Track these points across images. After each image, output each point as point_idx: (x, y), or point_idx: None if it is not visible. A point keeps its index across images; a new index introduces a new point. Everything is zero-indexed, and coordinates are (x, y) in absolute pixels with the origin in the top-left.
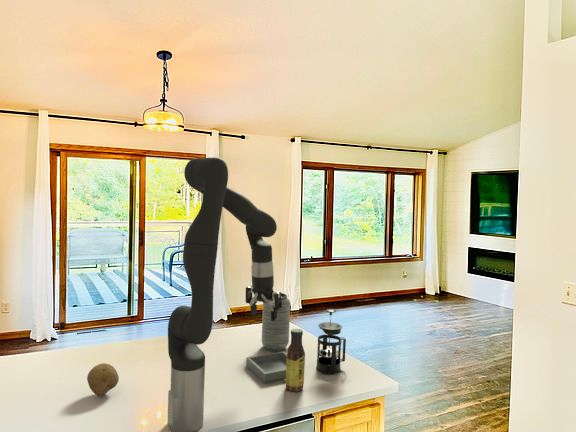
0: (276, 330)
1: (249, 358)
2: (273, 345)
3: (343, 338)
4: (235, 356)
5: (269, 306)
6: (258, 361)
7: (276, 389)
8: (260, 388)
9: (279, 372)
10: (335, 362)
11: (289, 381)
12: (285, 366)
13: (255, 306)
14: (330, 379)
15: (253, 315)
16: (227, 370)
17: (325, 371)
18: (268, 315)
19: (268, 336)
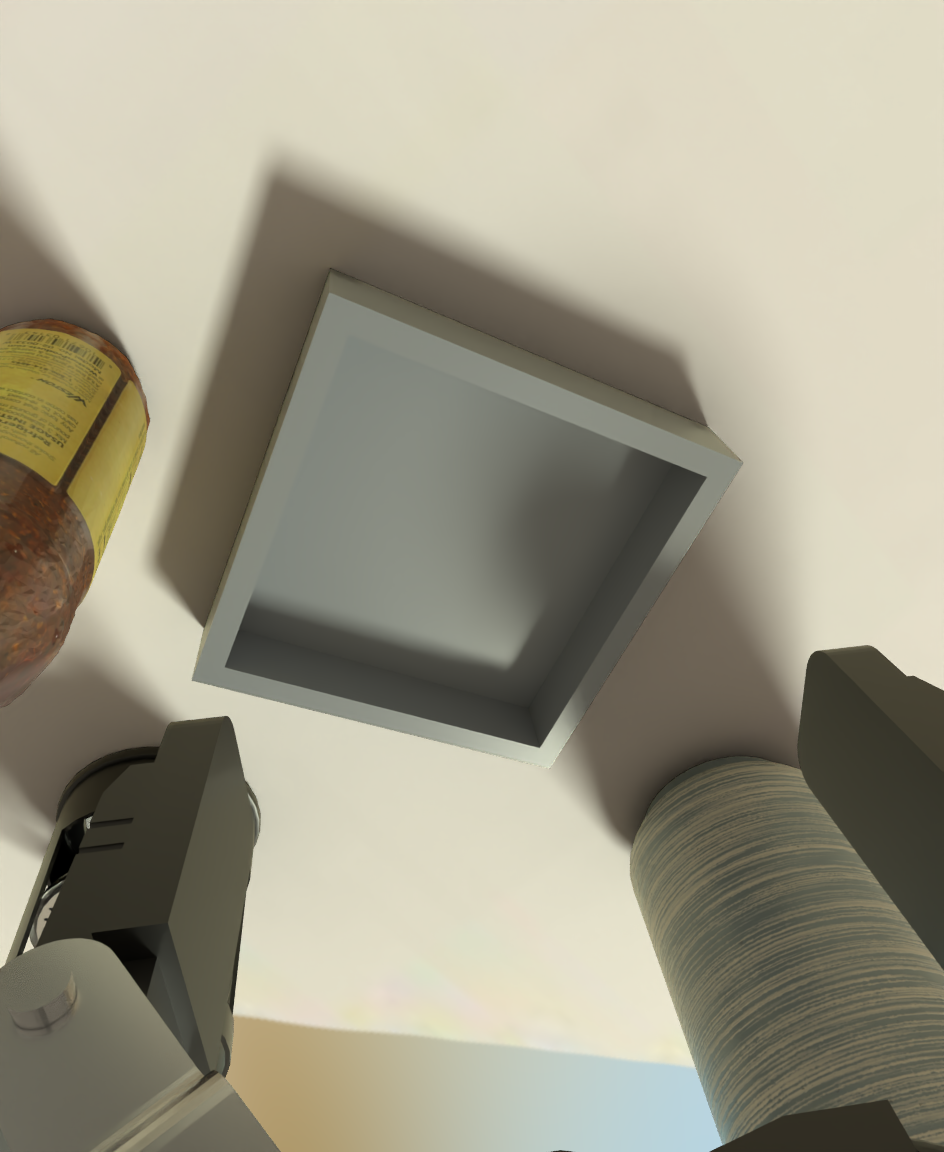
0: (731, 918)
1: (703, 466)
2: (699, 796)
3: None
4: (906, 511)
5: (167, 1075)
6: (642, 533)
7: (159, 260)
8: (285, 158)
9: (273, 448)
10: (38, 874)
11: (9, 341)
12: (414, 634)
13: (932, 896)
14: (11, 718)
15: (817, 661)
16: (809, 238)
17: (110, 770)
18: (892, 1023)
19: (776, 835)
